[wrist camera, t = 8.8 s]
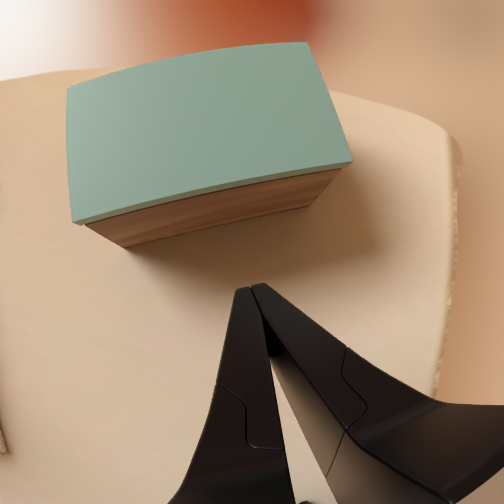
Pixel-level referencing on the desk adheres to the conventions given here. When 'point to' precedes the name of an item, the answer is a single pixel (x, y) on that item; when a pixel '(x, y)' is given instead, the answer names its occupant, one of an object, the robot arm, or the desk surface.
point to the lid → (198, 127)
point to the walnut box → (213, 208)
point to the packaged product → (2, 443)
